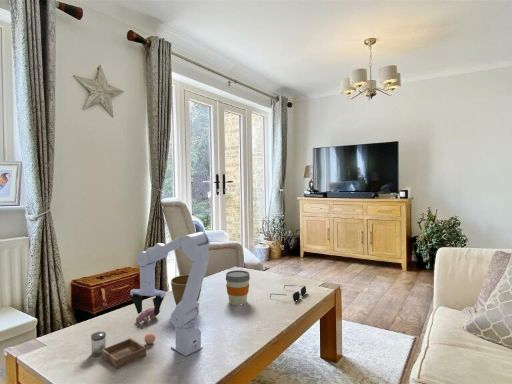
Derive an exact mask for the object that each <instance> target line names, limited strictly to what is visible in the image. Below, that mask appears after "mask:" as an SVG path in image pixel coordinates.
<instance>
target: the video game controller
mask: <svg viewBox="0 0 512 384" xmlns="http://www.w3.org/2000/svg"><path fill="white" fill-rule="evenodd" d="M160 312H161V309H160V310H159V313H160ZM158 315H159V314H157V315H155V313H154V307H149V308H147V309H146V310H145V311H143V310H142V312H141V313H139V315H138V316H137V317H136V319H135V322H136V323H138V324H139V323H142V322H144V323H147V322H148V321H149V320H151V321H152V320H154V319H155V318H156V317H157V316H158Z"/></svg>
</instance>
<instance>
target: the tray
mask: <svg viewBox="0 0 512 384" xmlns="http://www.w3.org/2000/svg"><path fill="white" fill-rule="evenodd" d="M145 356H147V347H146V346H144V345H143V344H142V343H140V342H138V341H136V340H135V339H133V338H131V337H130V338H127V339H125V340H122V341H120V342H117V343H115V344H112V345H109V346H106V348H104V349H102V356H101V358H102V359H103V360H105V361H106V362H108V364H109V365H111V366H112V367H114V368H115V369H119V368H121V367H124V366H126V365H128V364H130V363H133V362H135V361H136V360H139V359H142V357H145Z"/></svg>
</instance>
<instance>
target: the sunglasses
mask: <svg viewBox="0 0 512 384" xmlns="http://www.w3.org/2000/svg"><path fill="white" fill-rule="evenodd" d="M285 287H296V285H293V284H289V285H288V284H285V285H284V286H283V289H284V288H285ZM305 293H306V294H307V287H306V285H303V286H302V287H300V291H296V292H293V294H292V299H293V302H294V301H296V300H298V299H299V300H300V298H301V297H302V296H303V295H304V294H305ZM306 294H305V295H306ZM272 295H275V296H286V293H285V294H284V293H283V294H282V293H272V294H270V295H269V298H270V297H272ZM305 295H304V296H305ZM304 296H303V297H304ZM299 300H298V301H299ZM296 302H297V301H296Z"/></svg>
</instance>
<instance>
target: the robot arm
mask: <svg viewBox="0 0 512 384" xmlns="http://www.w3.org/2000/svg"><path fill="white" fill-rule="evenodd" d="M210 243H211V241H210V239H209V237H208V235H207V234H206V233H205V232H203V231H198V232H196V233H195V232H194V233H191V234H185V235H183V236H179V237H176V238H174V239H173V240H171V241H169V242H168V243H166V244H165V243H160V242H157V243H155V244H154V246H153V247H151V246H150V247H148V248H147V249H146V250H143V251H142V250H141V251H139V252H138V253H137V254H136V257H135V260H136V263H137V265H138V266H139V285H140V286H139V288H138V289H137V288H133V289H131V290H130V293H129V294H130V296H131V301H132V302H133V304H134V306H135V310H136V312H137V314H139V315H140V314H141V313H142V312H143V298H144V296H146V297H153V298H152V302H153V308H154V313H155V315H157V314H158V315H159V310H160V311H161V305H162V303H163V301H164V298H165V297H166V291H165V290H159V289H156V273H155V272H156V269H155V268H156V265H157V264H156V263H157V262H158V261H160V260H162V259H164V258H166V257H168V255H169V253H170V252H172V251H175V250H177V249H179V250H182V251H183V253H184V254H185V255H186V256H187V258H188V259H189V260H190V261H192V264H191V268H190V270H189V274H188V275H189V277H188V281H187V284H186V287H185V291H184V294H183V297H182V300H181V301H180V302H179V303H178V305H177V306H176V305H175V308H174V310H173V311H172V312H171V314H170V321H171V324H172V325H173V327H174V328H175V343H174V344H173V345H171V346H170V348H171V349H173V350H175V351H176V352H178V353H180V354H181V355H183V356H185V357H187V356H189V355H191V354H193V353H195V352H197V351H199V350H201V349H203V345H202V339H201V338H202V334H201V333H202V331H201V330H200V329H199V328H198V327H197V325H196V322H197V318H198V316H199V313H200V309H199V308H200V303H199V301H198V302H197V298H198V295H199V292H200V288H201V289H202V287H201V285H203V281H204V279H205V275H206V272H207V270H208V266H209V263H210V252H209V250H210V249H209V246H210ZM200 293H201V292H200ZM158 315H157V316H158Z"/></svg>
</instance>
